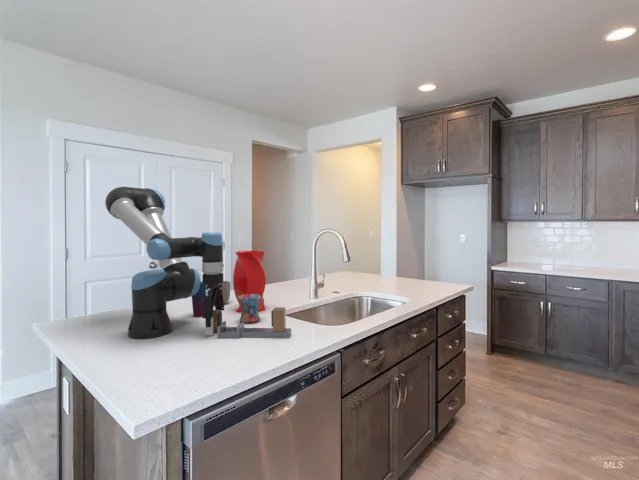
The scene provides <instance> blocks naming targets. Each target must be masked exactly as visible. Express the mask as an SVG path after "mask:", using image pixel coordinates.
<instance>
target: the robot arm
mask: <svg viewBox="0 0 639 480" xmlns="http://www.w3.org/2000/svg"><path fill="white" fill-rule="evenodd" d="M104 202H105V203H104V204H105V208H106V210H107V212H108V213H109V214H110V215H111V216H112V217H113V218H114V219H117V220H119V221H121V222H122V223H123V224H124V225H125V226H126V227H127V228H128V229H129V230H130V231H132V233H133V234H134V235H135V236H136V237H138V238H139V239H140V240H141V241H142V242H143V243H144V244H145V245H146V254H148V257H149V258H150V259H151V260H153V261H158V264H159V267H160V268H159V269H158V268H157V269H149V270H145V271H140V272H138V273H136V274H134V275H133V276H132V277H131V286H130V287H131V300H132V301H131V303H132V305H131V308H132V315H131V319H130V322H129V324H128V327H127V337H130V338H132V339H150V338H157V337H162V336H164V335H168V334H169V333H170V332H172V330H173V325H172V321H171V319H170V316H169V314H168V311H167V303H168V302H172V301H176V300H182V299H188V298H190V297H191V298H192V296H193V295H195V294H196V293H197V292H198V290H199V288H200V281H201V276H200V273H199V271H198V270H197V269H195V268H190V266H189V264H188V261H184V260H182V258H183V259H184V258H192V257H193V258H194V257H202V258H201V259H202V260H201V261H202V262H201V263H202V267H201V269H202V271H201V272H202V273H203V274H202V281H203V283H204V284H207V290H204V292H203V293H204V301H203V316H202V317H201V318H202V319H205V320H204V323H205V332H204V333H205V336H214V333H213V318H212V313H213V310H221V312H222V313H223V311H225V306H224V305H225V304H224V302H223V293H222V284H220V283H223V281H224V273H223V271H224V267H225V264H224V260H223V258H224V255H223V254H224V253H223V252H224V251H223V249H224V248H223V244H224V242H223V234H222V233H221V232H219V231H218V232H212V231H211V232H202V233H201V237H198V236H197V237H195V236H188V237H174V238H173V237H172V236H171V233H170V232H169V229H168V226H167V224H166V222H165V220H164V218H163V215H164V213H165V209H166V205H165V203H166V200H165V197H164V196H163V194H162V193H161V192H160V191H159V190H157V189H153V188H149V187H148V188H143V187H141V188H140V187H132V186H130V187H129V186H119V187H116V188H114V189H112V190H110V191H109V192H108V193H107V195H106V197H105V201H104ZM214 308H215V309H214Z"/></svg>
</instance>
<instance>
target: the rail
mask: <svg viewBox="0 0 639 480" xmlns="http://www.w3.org/2000/svg"><path fill="white" fill-rule="evenodd" d="M286 316H287V315H286V307H281V306H280V307H279V306H277V307H275V306H274V308H272V310H271V315H270V317H271V327H245V322H244V321H242V322H241V321H240V323H239V324H238V325H237V326H227V321H226V320H223V321H222V323H221V324H220V325H219V326H218V333H216V335H217V339H240V338H251V339H252V338H257V339H259V338H260V339H261V338H263V339H264V338H265V339H267V338H268V339H269V338H270V339H273V338H274V339H289V338H290V337H291V335H292V327H291V328H290V327H288V328H287V327H286V326H287V325H286V322H287V321H286V320H287V318H286Z"/></svg>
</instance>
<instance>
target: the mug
mask: <svg viewBox="0 0 639 480" xmlns="http://www.w3.org/2000/svg"><path fill="white" fill-rule="evenodd" d="M238 298H239V301H240V303H241V308H242V313H241V312H240V313H241V315H240V318H239V321H240V323H241V322H242V321H244V324H246V323H247V324H250V323H256V322H258V321H260V319H261V317H260V315H259V312H258V310H259V309H260V308H261V307H262V305H263V303H264V304H265V299H264V297H263V298H262V297H261V296H260V295H257V294H246V295H241V296H239V297H238ZM260 298H262V299H263V302H262V304H261V306H260V307H259V308H258V303H259V299H260Z"/></svg>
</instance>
